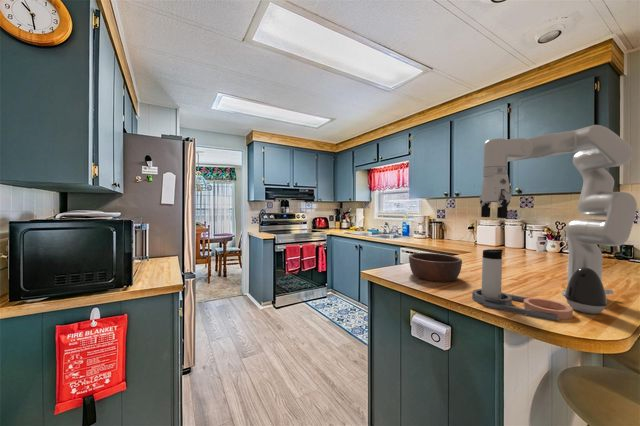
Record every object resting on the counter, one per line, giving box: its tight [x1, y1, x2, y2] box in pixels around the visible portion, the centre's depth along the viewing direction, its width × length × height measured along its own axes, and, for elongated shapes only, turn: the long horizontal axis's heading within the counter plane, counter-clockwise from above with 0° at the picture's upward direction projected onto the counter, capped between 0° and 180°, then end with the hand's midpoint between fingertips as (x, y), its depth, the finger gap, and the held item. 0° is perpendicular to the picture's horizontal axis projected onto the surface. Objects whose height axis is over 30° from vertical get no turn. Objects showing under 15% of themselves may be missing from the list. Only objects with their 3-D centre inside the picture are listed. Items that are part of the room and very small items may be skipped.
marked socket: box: [523, 297, 574, 320], centre depth 90 cm, size 12×12×2 cm
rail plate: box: [471, 288, 559, 322], centre depth 96 cm, size 24×17×2 cm
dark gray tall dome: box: [564, 268, 608, 315], centre depth 90 cm, size 10×10×15 cm
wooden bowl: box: [408, 252, 463, 283], centre depth 133 cm, size 25×25×10 cm
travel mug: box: [481, 248, 504, 299], centre depth 99 cm, size 6×7×20 cm
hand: (493, 217), depth 98 cm, fingers open, 9 cm apart
